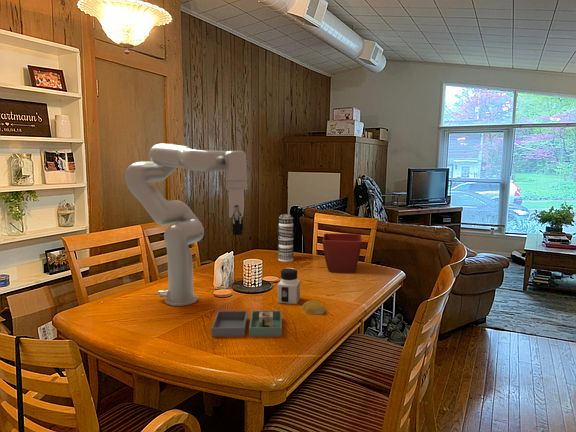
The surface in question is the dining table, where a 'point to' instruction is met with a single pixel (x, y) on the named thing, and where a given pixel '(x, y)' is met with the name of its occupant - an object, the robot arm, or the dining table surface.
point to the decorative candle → (285, 238)
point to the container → (289, 287)
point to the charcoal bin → (230, 324)
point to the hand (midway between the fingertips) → (238, 232)
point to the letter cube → (266, 319)
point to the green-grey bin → (265, 331)
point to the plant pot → (342, 251)
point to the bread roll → (313, 307)
